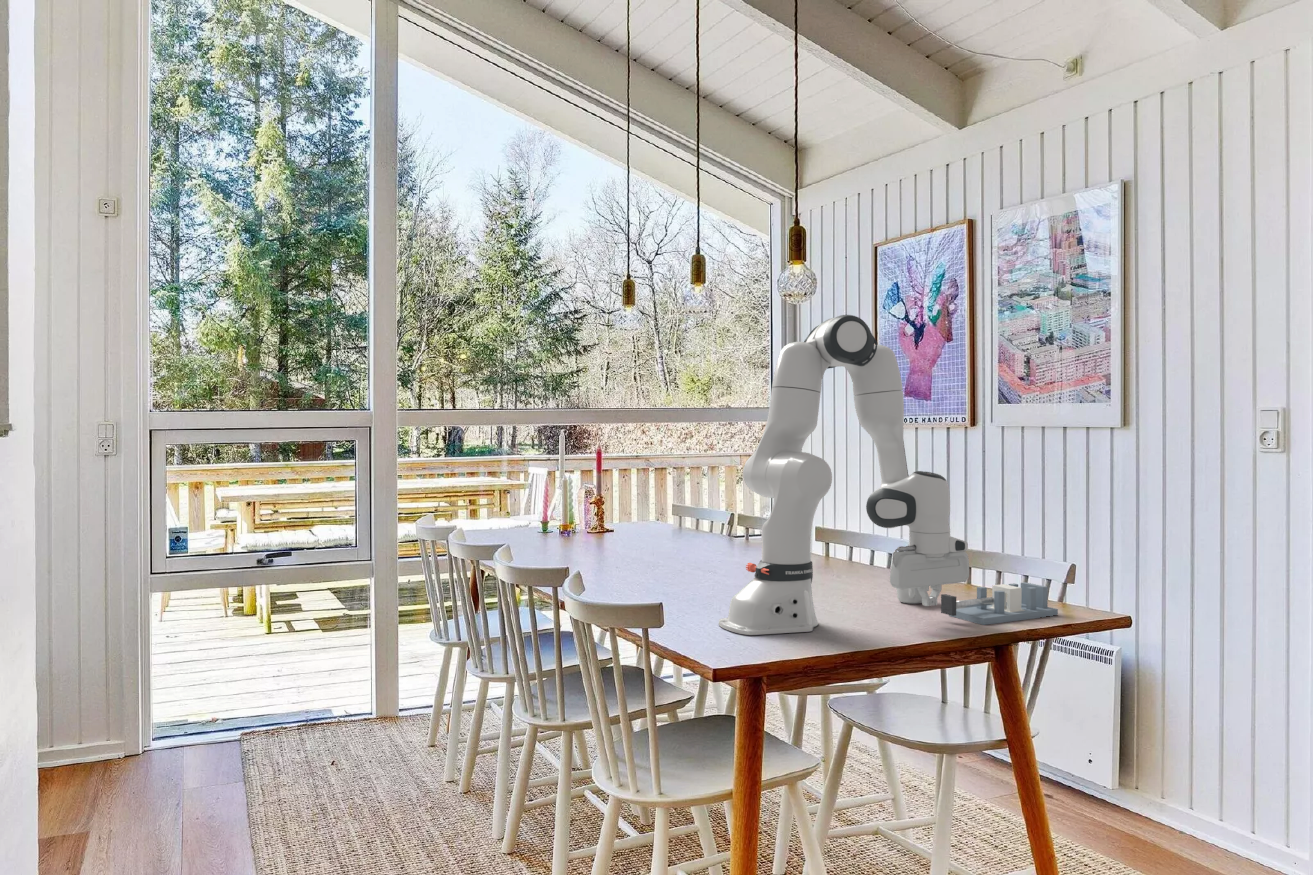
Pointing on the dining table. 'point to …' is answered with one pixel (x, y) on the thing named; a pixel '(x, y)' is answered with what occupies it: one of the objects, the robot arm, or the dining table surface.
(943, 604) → the shaft
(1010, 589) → the bracket
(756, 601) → the robot arm
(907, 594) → the cup
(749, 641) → the dining table surface
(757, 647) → the dining table surface
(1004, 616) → the block
